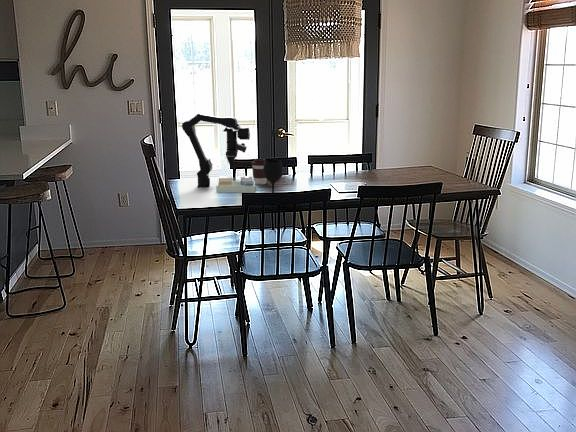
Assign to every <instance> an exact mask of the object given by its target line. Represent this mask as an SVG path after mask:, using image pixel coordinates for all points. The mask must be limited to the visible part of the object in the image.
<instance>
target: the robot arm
mask: <svg viewBox="0 0 576 432" xmlns="http://www.w3.org/2000/svg"><path fill="white" fill-rule="evenodd" d="M200 122H207V123H211V124H212V123H213V124H218V125H222V126H224V127H225V128H224V129H222V132H226V152H225V157H226V159H227V163H228V164H229V166H230V169H231V168H234V165H235V159H236V158H237V156H238V153H239V151H241V152H242V153H246V150H247V147H248V146H246V144H245V143H244V142H242V143H238V140H242V141H243V140H244V141H245V140H246V141H247V140H248V141H249V140H250V138H251V133H250V127H241V126H240V125H239V123H238V120H237V118H236V117H234V116H225V117H224V116H223V117H222V116H221V117H220V116H216V115H215V116H214V115H209V114H203V113H201V112H200V113H197V114H196V115H195V116H193V117H192V118H190V119H189V120H186V121H184V122H182V124H181V128H182V130H183V132H184V133H185V135H186V136H187V137H188V139H189V140H190V144H191V145H192V148H193V150H194V152H195V154H196V156H197V159H198V163H199V164H198V165H199V169H200V170H199V171H198V172H197V173H196V176H197V188H209V187H210V186H211V177H210V176H209V174H210V173H211V171H213V165H214V164H213V163H212V161H211V158H208V157H206V155H205V153H204V151H203V148H202V146H201V143H200V141H199V139H198V137H197V132H196V126H197V124H198V123H200ZM237 139H238V140H237Z"/></svg>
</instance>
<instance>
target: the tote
mask: <svg viewBox="0 0 576 432" xmlns="http://www.w3.org/2000/svg"><path fill="white" fill-rule="evenodd" d="M215 187H216V188H215V192H216V193H255V192H256V184H255V181H254V180H253V186H241V180H232V186H219V180H218V181H217V184H216V186H215Z"/></svg>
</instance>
